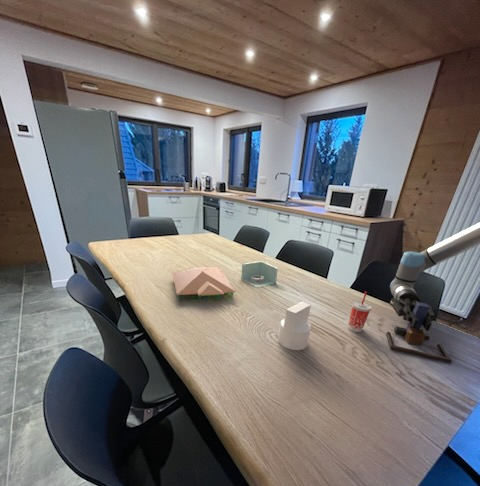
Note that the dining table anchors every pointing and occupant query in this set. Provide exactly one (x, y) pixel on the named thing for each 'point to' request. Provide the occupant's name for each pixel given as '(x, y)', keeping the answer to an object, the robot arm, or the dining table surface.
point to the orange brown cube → (415, 336)
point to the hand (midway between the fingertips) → (421, 325)
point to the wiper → (420, 314)
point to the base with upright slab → (295, 327)
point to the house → (202, 282)
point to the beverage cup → (359, 315)
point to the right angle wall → (259, 273)
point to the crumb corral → (443, 358)
